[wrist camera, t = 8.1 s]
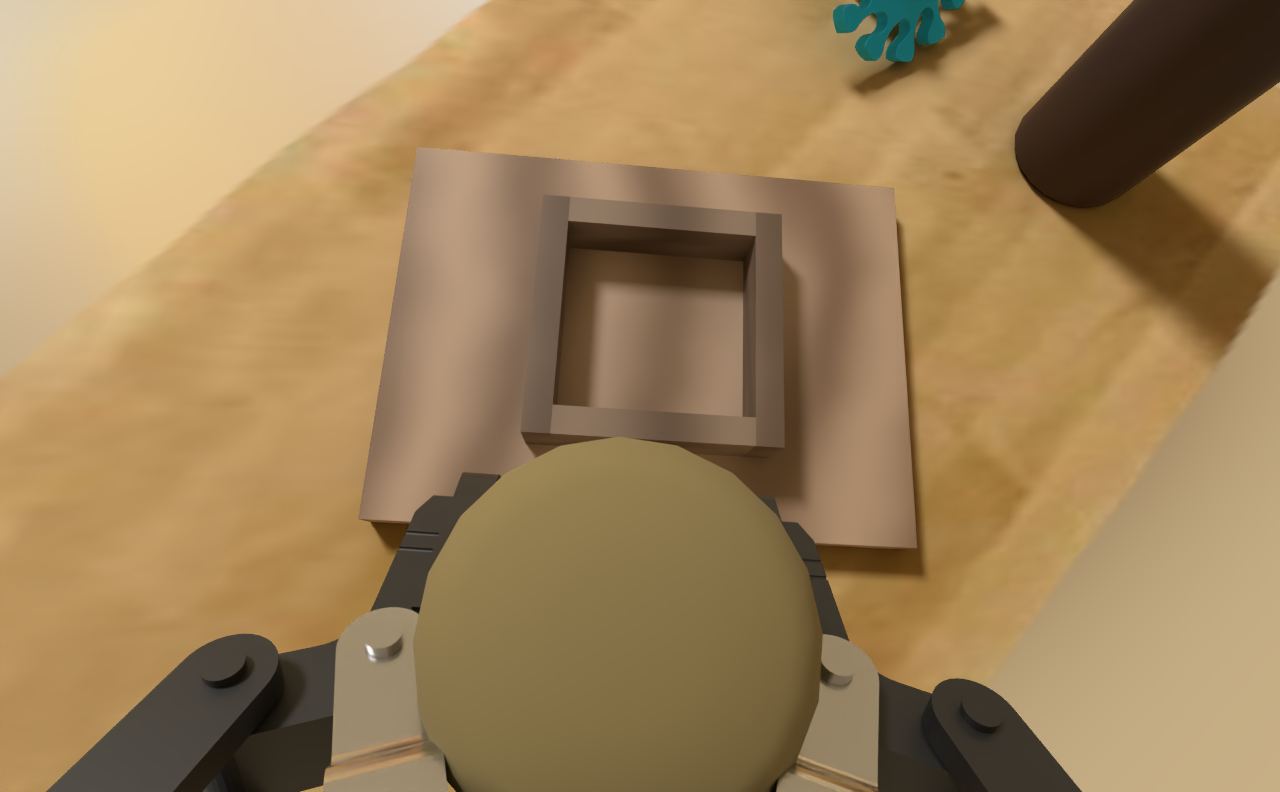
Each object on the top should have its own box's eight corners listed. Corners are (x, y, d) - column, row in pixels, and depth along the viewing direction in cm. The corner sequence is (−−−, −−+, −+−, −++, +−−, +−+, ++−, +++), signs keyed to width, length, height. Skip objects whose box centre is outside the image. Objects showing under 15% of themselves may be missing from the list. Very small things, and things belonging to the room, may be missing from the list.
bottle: (1041, 222, 36) (1569, -190, 17) (991, 118, 37) (1418, -369, 18) (1148, 196, 37) (1762, -221, 18) (1094, 96, 38) (1603, -388, 19)
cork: (444, 584, 17) (224, 586, 7) (627, 451, 19) (676, 283, 8) (577, 787, 16) (556, 1153, 6) (762, 631, 18) (1014, 701, 7)
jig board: (369, 521, 29) (336, 513, 25) (424, 165, 34) (403, 112, 30) (901, 549, 31) (946, 545, 27) (881, 204, 35) (917, 158, 31)
